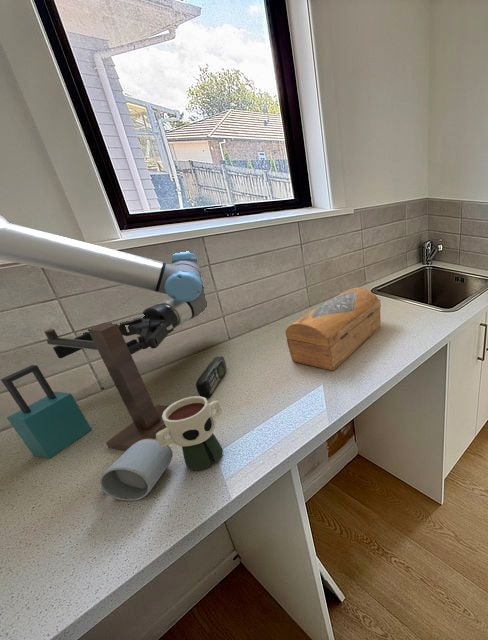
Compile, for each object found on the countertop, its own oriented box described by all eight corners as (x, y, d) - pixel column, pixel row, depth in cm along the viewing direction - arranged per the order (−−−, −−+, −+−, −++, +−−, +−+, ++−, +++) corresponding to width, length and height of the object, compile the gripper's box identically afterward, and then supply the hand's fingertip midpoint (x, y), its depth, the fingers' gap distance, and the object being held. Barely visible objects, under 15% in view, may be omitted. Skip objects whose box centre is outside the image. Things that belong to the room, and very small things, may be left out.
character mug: (186, 488, 61) (161, 434, 55) (166, 471, 64) (141, 419, 58) (242, 448, 69) (226, 398, 63) (222, 435, 72) (205, 386, 67)
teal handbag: (33, 455, 67) (-18, 383, 59) (77, 427, 74) (36, 359, 66) (49, 458, 66) (0, 386, 59) (92, 429, 74) (52, 361, 66)
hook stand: (67, 441, 71) (0, 335, 59) (122, 404, 81) (74, 308, 70) (137, 452, 68) (80, 344, 57) (185, 412, 78) (145, 314, 67)
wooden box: (343, 319, 124) (339, 284, 118) (383, 326, 119) (381, 290, 113) (286, 360, 99) (277, 318, 93) (333, 372, 93) (327, 328, 87)
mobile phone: (205, 383, 81) (226, 350, 94) (192, 384, 80) (214, 351, 93) (211, 399, 83) (230, 365, 96) (198, 400, 83) (219, 366, 96)
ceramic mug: (181, 461, 66) (167, 431, 63) (156, 498, 59) (139, 467, 55) (122, 467, 65) (105, 437, 61) (90, 506, 57) (68, 475, 54)
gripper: (210, 331, 91) (137, 376, 72) (133, 324, 95) (44, 364, 76) (203, 306, 88) (124, 346, 69) (123, 299, 92) (27, 335, 73)
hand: (82, 356), depth 73 cm, fingers open, 13 cm apart
